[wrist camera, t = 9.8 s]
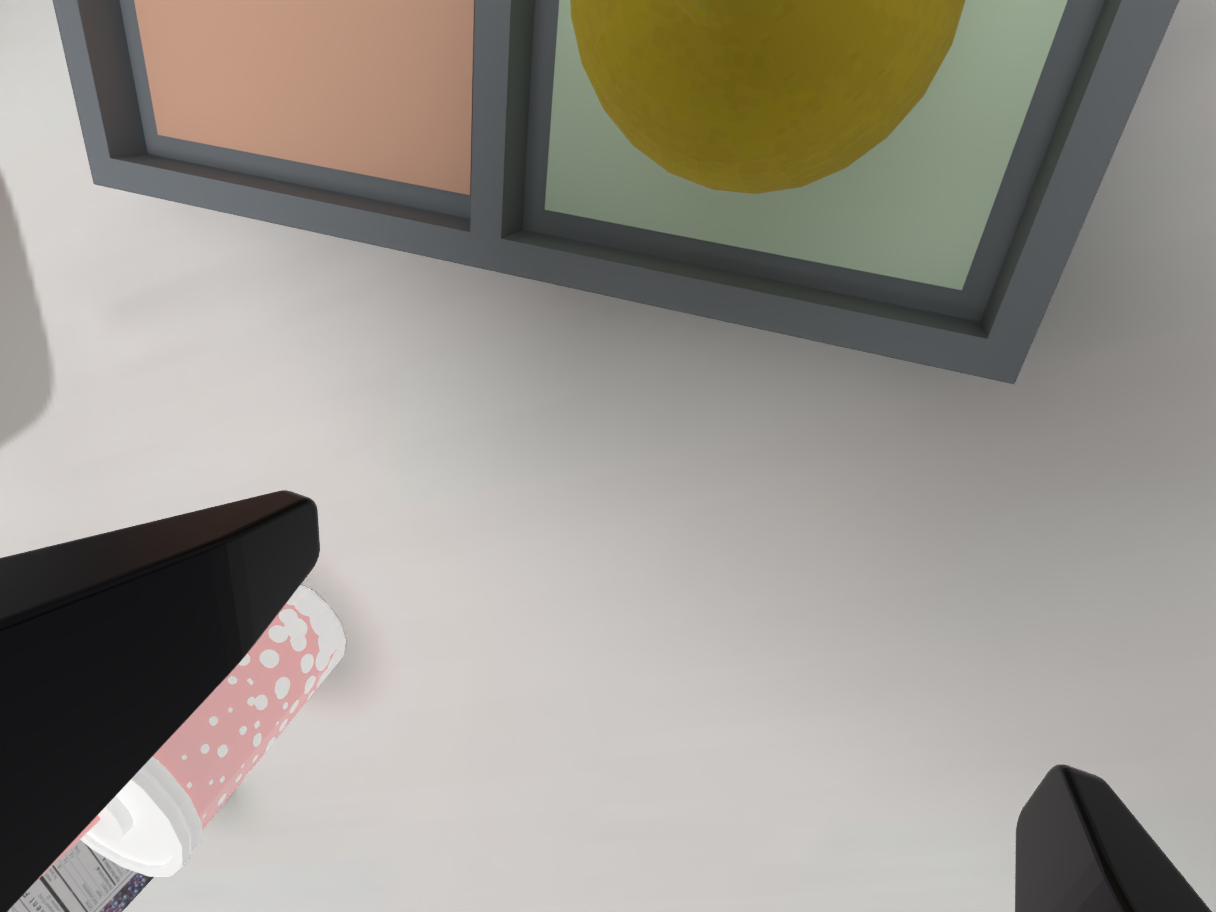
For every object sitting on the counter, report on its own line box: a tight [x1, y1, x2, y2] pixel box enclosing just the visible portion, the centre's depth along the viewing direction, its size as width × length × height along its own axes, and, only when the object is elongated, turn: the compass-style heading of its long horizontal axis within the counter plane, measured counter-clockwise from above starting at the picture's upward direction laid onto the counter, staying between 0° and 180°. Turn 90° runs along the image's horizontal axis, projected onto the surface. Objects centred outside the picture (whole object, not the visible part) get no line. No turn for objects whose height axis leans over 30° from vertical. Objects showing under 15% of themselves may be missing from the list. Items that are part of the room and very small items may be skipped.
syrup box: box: [8, 840, 153, 912], centre depth 32 cm, size 6×6×14 cm
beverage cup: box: [38, 585, 346, 879], centre depth 24 cm, size 6×6×14 cm
